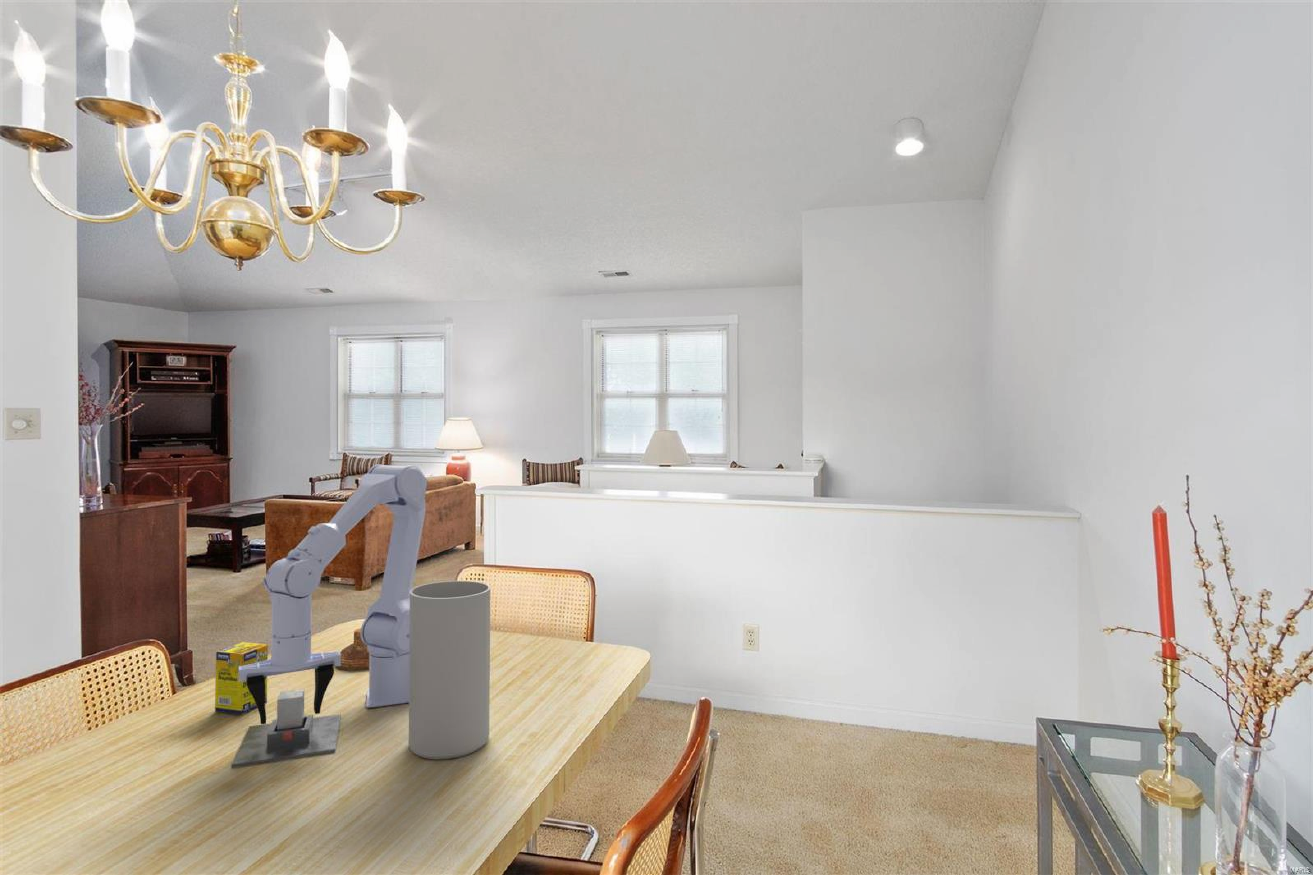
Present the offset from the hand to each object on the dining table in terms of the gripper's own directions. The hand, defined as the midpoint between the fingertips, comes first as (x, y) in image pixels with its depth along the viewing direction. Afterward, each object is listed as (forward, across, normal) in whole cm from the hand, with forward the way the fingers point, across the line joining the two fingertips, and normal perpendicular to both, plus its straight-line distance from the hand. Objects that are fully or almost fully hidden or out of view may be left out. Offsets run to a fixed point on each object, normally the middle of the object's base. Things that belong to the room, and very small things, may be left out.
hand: (290, 716), depth 109 cm
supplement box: (+4, +6, -20) cm, 21 cm away
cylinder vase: (+4, -22, +14) cm, 26 cm away
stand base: (+4, 0, 0) cm, 4 cm away
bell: (+4, -17, -34) cm, 39 cm away
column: (+4, 0, 0) cm, 4 cm away
